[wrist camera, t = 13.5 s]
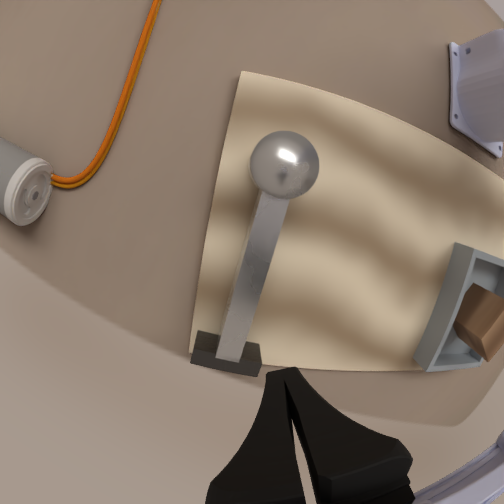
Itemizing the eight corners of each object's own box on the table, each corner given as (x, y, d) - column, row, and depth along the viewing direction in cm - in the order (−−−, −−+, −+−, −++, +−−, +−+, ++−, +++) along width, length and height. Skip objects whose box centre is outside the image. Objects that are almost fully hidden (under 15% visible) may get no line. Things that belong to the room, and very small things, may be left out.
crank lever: (251, 130, 16) (253, 119, 13) (318, 151, 17) (333, 146, 14) (195, 340, 19) (189, 365, 17) (254, 354, 20) (257, 379, 17)
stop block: (447, 314, 20) (481, 339, 15) (473, 282, 20) (509, 302, 15) (458, 337, 21) (488, 362, 16) (482, 308, 20) (514, 328, 16)
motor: (73, 247, 18) (38, 254, 13) (-50, 159, 15) (-78, 153, 10) (218, 10, 18) (221, -26, 13) (59, -13, 14) (46, -36, 9)
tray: (454, 241, 19) (474, 248, 17) (503, 259, 20) (519, 266, 18) (412, 357, 22) (425, 371, 19) (467, 355, 22) (479, 366, 20)
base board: (241, 75, 16) (241, 70, 15) (513, 190, 19) (519, 191, 18) (190, 347, 21) (188, 353, 20) (459, 363, 24) (464, 367, 23)
